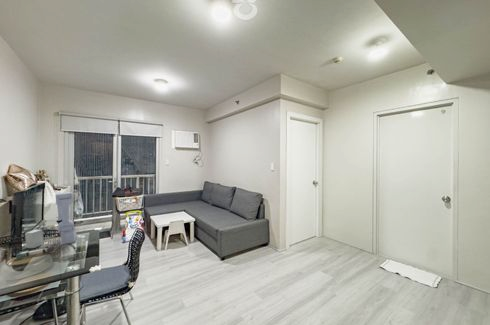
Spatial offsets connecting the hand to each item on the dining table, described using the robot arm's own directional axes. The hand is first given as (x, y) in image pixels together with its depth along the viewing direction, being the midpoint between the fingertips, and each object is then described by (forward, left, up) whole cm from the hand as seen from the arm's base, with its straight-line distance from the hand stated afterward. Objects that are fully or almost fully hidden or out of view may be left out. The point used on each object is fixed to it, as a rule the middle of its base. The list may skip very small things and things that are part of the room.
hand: (63, 226), depth 179 cm
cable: (+6, +30, -10) cm, 32 cm away
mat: (+6, +22, -10) cm, 25 cm away
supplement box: (+16, +9, -11) cm, 21 cm away
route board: (+6, +30, -10) cm, 33 cm away
